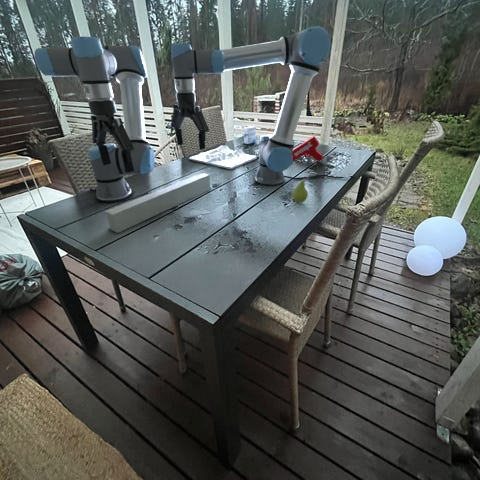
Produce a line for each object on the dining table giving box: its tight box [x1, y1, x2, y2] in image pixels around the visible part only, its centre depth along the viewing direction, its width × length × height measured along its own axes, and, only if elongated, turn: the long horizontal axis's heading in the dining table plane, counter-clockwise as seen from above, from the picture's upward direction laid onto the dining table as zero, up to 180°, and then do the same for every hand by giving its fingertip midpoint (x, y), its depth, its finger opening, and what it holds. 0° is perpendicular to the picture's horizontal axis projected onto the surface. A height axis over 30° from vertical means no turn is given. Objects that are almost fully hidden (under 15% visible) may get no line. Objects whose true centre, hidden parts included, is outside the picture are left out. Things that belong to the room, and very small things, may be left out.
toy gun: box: [292, 135, 324, 163], centre depth 171 cm, size 18×4×15 cm
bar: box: [104, 172, 211, 234], centre depth 117 cm, size 51×5×8 cm, turn 144°
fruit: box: [291, 174, 311, 204], centre depth 118 cm, size 7×8×12 cm
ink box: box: [243, 125, 257, 145], centre depth 212 cm, size 8×5×12 cm, turn 135°
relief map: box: [188, 144, 258, 170], centre depth 177 cm, size 27×35×5 cm
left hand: (118, 167), depth 95 cm, fingers open, 13 cm apart
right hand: (191, 146), depth 119 cm, fingers open, 13 cm apart
